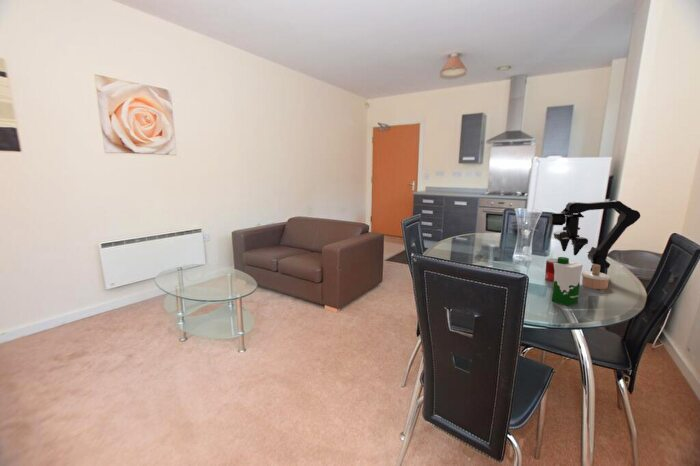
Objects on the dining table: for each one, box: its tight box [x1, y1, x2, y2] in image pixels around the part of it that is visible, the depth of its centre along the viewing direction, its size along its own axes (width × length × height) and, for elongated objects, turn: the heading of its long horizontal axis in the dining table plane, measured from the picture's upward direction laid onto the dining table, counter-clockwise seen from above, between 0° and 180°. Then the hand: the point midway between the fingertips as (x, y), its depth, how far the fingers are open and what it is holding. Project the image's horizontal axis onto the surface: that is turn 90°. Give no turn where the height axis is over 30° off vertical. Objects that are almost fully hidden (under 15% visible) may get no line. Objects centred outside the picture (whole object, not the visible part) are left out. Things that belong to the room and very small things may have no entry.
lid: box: [581, 264, 611, 280], centre depth 153 cm, size 11×11×6 cm
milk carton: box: [551, 256, 584, 307], centre depth 135 cm, size 9×9×20 cm
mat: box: [578, 284, 609, 297], centre depth 149 cm, size 14×14×1 cm
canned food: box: [544, 258, 558, 283], centre depth 164 cm, size 8×8×11 cm
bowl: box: [581, 275, 610, 290], centre depth 154 cm, size 10×10×5 cm
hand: (569, 253), depth 169 cm, fingers open, 9 cm apart
